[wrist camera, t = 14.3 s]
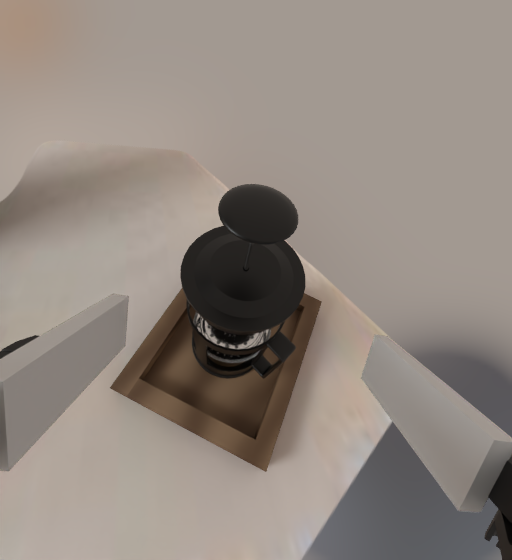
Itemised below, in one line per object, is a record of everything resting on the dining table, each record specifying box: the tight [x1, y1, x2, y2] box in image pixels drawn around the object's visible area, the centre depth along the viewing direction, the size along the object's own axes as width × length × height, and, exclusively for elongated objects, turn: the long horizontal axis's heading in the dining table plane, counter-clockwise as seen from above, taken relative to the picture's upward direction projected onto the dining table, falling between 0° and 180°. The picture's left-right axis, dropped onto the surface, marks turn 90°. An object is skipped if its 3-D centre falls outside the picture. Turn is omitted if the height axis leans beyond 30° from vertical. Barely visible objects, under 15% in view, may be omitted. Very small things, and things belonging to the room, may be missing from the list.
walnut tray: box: [110, 288, 322, 472], centre depth 32 cm, size 18×21×2 cm
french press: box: [181, 184, 305, 379], centre depth 22 cm, size 12×9×23 cm
